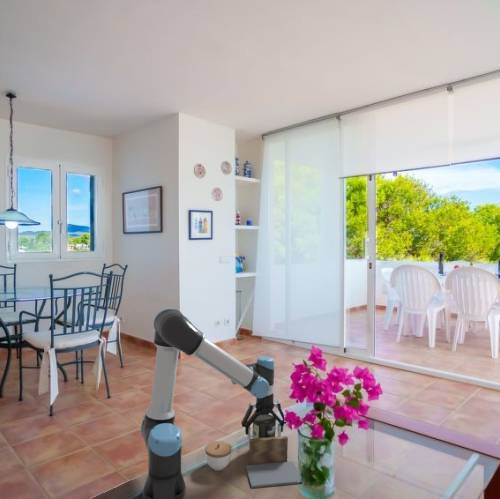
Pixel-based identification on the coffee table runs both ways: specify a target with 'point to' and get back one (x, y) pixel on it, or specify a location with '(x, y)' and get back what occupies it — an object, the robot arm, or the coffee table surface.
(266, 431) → the coffee can
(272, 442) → the walnut screen
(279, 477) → the slate mat
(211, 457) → the lidded jar
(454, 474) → the coffee table surface
